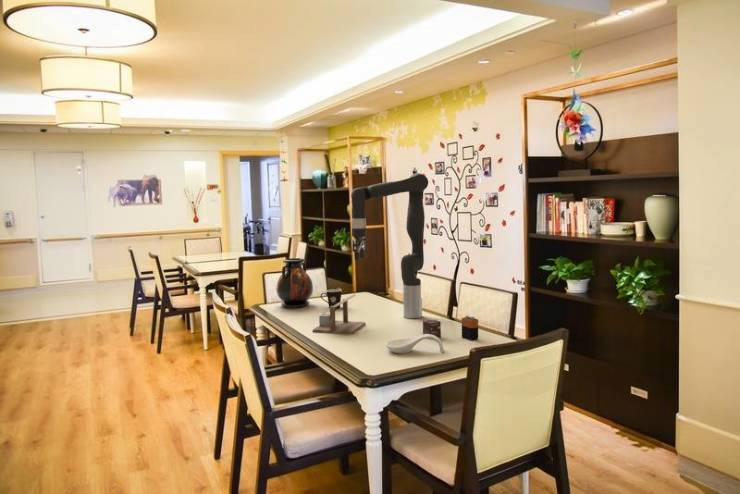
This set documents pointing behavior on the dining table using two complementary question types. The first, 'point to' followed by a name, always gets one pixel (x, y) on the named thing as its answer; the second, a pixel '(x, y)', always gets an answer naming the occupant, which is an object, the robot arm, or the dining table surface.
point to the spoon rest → (410, 343)
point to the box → (432, 327)
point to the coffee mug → (333, 297)
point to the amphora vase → (294, 284)
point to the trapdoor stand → (340, 323)
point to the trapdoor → (339, 303)
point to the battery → (470, 328)
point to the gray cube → (324, 320)
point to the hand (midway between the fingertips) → (359, 258)
